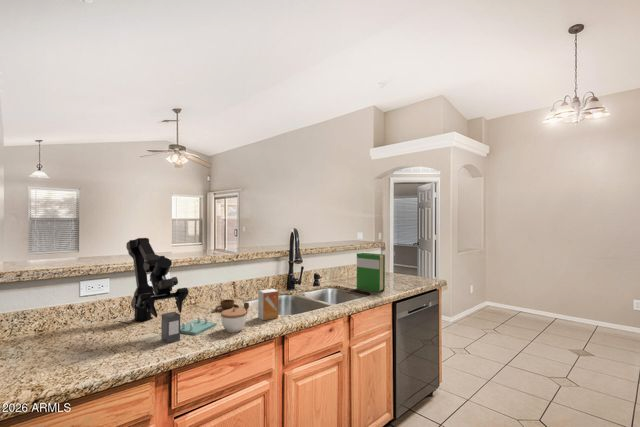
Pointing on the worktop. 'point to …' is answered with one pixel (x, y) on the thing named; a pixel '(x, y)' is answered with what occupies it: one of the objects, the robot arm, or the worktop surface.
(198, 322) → the pin tray
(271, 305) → the small box
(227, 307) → the place setting
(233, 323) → the lidded jar
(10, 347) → the worktop surface
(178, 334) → the plate
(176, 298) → the robot arm
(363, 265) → the hardback book
